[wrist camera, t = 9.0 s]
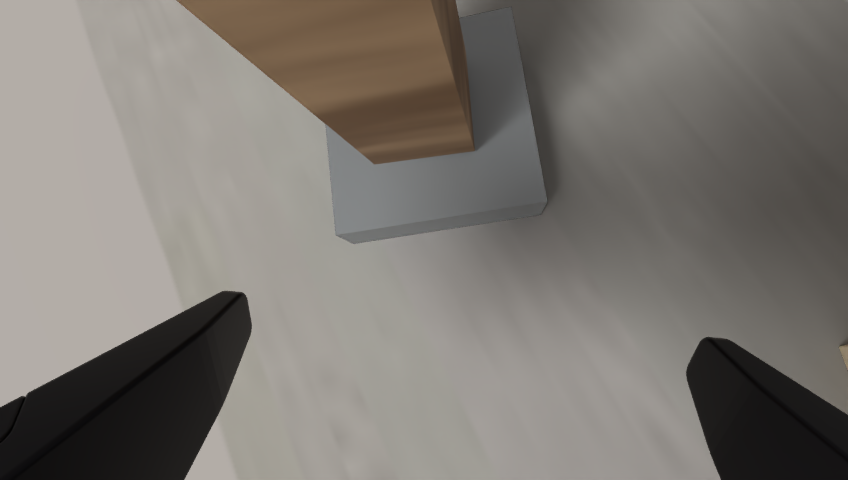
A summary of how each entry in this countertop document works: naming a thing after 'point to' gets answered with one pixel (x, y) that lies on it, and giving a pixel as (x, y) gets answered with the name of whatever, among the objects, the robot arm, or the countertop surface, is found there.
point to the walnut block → (361, 67)
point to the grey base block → (451, 156)
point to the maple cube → (844, 353)
